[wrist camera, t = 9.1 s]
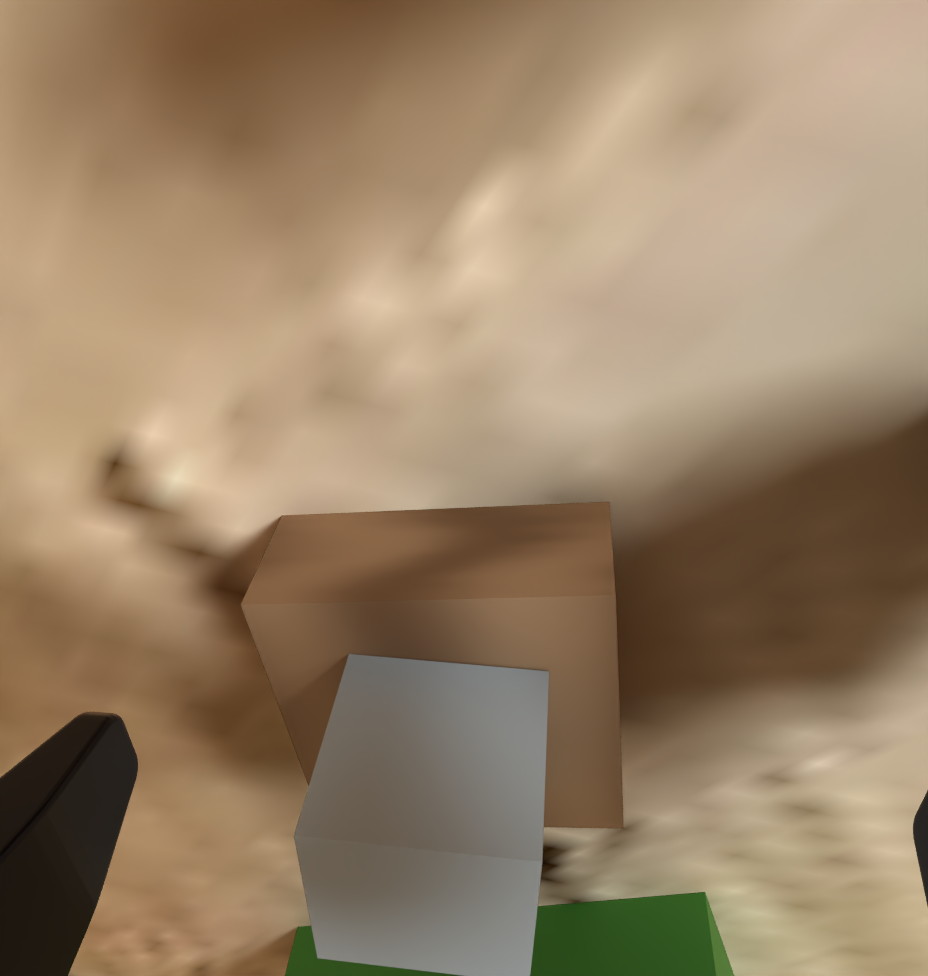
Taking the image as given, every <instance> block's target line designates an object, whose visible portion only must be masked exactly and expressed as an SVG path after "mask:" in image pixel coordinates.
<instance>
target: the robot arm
mask: <svg viewBox="0 0 928 976" xmlns="http://www.w3.org/2000/svg"><path fill="white" fill-rule="evenodd" d="M137 771H138V760H137V755H136V753H135V750H134V748H133V745H132V742H131V740H130V737H129V735H128V732H127V730H126V727H125V724H124V722H123V720H122V718H121V717H120V716H118V715H117V714H113V713H101V712H85V713H82V714H80V715H78V716H77V717H75V718H74V719H73V720H71V721H70V722H69V723H68V724H66V725H65V726H64V727H63V728H62V729H60V730H59V731H58V732H57V733H55V734H54V735H53V736H52V737H50V738H49V739H48V740H47V741H45V742H44V743H43V744H42V745H40V746H39V747H38V748H37V749H35V750H34V751H33V752H32V753H30V754H29V755H28V756H27V757H25V758H24V759H23V760H22V761H20V762H19V763H18V764H17V765H16V766H14V767H13V768H12V769H11V770H9V771H8V772H7V773H6V774H4V775H3V776H2V777H1V778H0V976H68V974H69V971H70V969H71V966H72V964H73V962H74V959H75V957H76V955H77V952H78V950H79V947H80V945H81V943H82V940H83V938H84V936H85V933H86V931H87V929H88V926H89V923H90V921H91V918H92V916H93V913H94V911H95V908H96V906H97V903H98V900H99V897H100V894H101V891H102V888H103V885H104V881H105V878H106V875H107V872H108V868H109V865H110V862H111V859H112V855H113V852H114V849H115V846H116V842H117V839H118V836H119V833H120V829H121V826H122V823H123V820H124V816H125V813H126V810H127V807H128V803H129V800H130V797H131V793H132V790H133V787H134V784H135V780H136V777H137ZM913 836H914V842H915V847H916V852H917V857H918V862H919V867H920V872H921V877H922V881H923V886H924V891H925V896H926V901H927V906H928V791H927V793H926V795H925V797H924V799H923V801H922V803H921V805H920V807H919V809H918V811H917V813H916V815H915V818H914V823H913Z"/></svg>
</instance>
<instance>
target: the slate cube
mask: <svg viewBox="0 0 928 976" xmlns="http://www.w3.org/2000/svg"><path fill="white" fill-rule="evenodd" d="M548 687H549V671H539V670H528V669H516V668H505V667H493V666H482V665H470V664H459V663H447V662H435V661H424V660H412V659H401V658H389V657H378V656H366V655H355V654H349V656H348V659H347V662H346V665H345V669H344V672H343V675H342V679H341V682H340V685H339V689H338V692H337V695H336V698H335V702H334V705H333V708H332V712H331V715H330V718H329V721H328V725H327V728H326V731H325V735H324V738H323V741H322V745H321V748H320V751H319V754H318V758H317V761H316V764H315V768H314V771H313V774H312V778H311V781H310V784H309V787H308V791H307V794H306V797H305V801H304V804H303V807H302V810H301V814H300V817H299V820H298V824H297V827H296V830H295V834H294V839H295V844H296V849H297V854H298V860H299V865H300V870H301V875H302V880H303V886H304V891H305V896H306V901H307V906H308V912H309V917H310V922H311V927H312V932H313V938H314V943H315V948H316V953H317V958H320V959H328V960H337V961H345V962H354V963H362V964H370V965H379V966H387V967H396V968H404V969H412V970H421V971H429V972H437V973H446V974H454V975H463V976H530V973H531V963H532V954H533V945H534V935H535V926H536V916H537V907H538V898H539V888H540V879H541V870H542V857H543V828H544V800H545V772H546V744H547V715H548Z"/></svg>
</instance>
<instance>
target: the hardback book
mask: <svg viewBox="0 0 928 976" xmlns="http://www.w3.org/2000/svg"><path fill="white" fill-rule="evenodd" d="M285 976H463V975H454V974H446V973H437V972H429V971H421V970H412V969H404V968H396V967H387V966H379V965H370V964H362V963H354V962H345V961H337V960H328V959H320V958H317V953H316V948H315V943H314V938H313V932H312V927H311V926H304V927H298V928H297V932H296V935H295V939H294V943H293V947H292V951H291V954H290V958H289V962H288V966H287V969H286V973H285ZM530 976H734V974H733V971H732V968H731V965H730V962H729V960H728V957H727V954H726V951H725V948H724V945H723V942H722V940H721V937H720V934H719V931H718V928H717V925H716V922H715V920H714V917H713V914H712V911H711V908H710V905H709V902H708V900H707V897H706V894H705V892H701V893H689V894H677V895H666V896H654V897H642V898H631V899H619V900H607V901H596V902H584V903H572V904H560V905H549V906H538V907H537V916H536V926H535V935H534V945H533V954H532V963H531V973H530Z"/></svg>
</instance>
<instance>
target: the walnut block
mask: <svg viewBox="0 0 928 976" xmlns="http://www.w3.org/2000/svg"><path fill="white" fill-rule="evenodd" d="M241 607H242V610H243V613H244V615H245V618H246V621H247V623H248V626H249V629H250V631H251V634H252V637H253V639H254V642H255V645H256V647H257V650H258V652H259V655H260V658H261V660H262V663H263V666H264V668H265V671H266V674H267V676H268V679H269V682H270V684H271V687H272V690H273V692H274V695H275V698H276V700H277V703H278V706H279V708H280V711H281V714H282V716H283V719H284V722H285V724H286V727H287V729H288V732H289V735H290V737H291V740H292V743H293V745H294V748H295V751H296V753H297V756H298V759H299V761H300V764H301V767H302V769H303V772H304V775H305V777H306V780H307V783H308V785H309V784H310V781H311V778H312V774H313V771H314V768H315V764H316V761H317V758H318V754H319V751H320V748H321V745H322V741H323V738H324V735H325V731H326V728H327V725H328V721H329V718H330V715H331V712H332V708H333V705H334V702H335V698H336V695H337V692H338V689H339V685H340V682H341V679H342V675H343V672H344V669H345V665H346V662H347V659H348V656H349V654H355V655H366V656H378V657H389V658H401V659H412V660H424V661H435V662H447V663H459V664H470V665H482V666H493V667H505V668H516V669H528V670H539V671H549V687H548V715H547V744H546V772H545V800H544V827H568V828H624V825H623V796H622V766H621V736H620V706H619V677H618V647H617V617H616V591H615V577H614V563H613V548H612V534H611V519H610V505H609V502H592V503H569V504H545V505H521V506H498V507H474V508H451V509H427V510H404V511H380V512H357V513H333V514H309V515H286V516H282V517H281V519H280V521H279V523H278V525H277V527H276V530H275V532H274V534H273V536H272V538H271V540H270V543H269V545H268V547H267V549H266V551H265V553H264V556H263V558H262V560H261V562H260V564H259V566H258V568H257V571H256V573H255V575H254V577H253V579H252V581H251V584H250V586H249V588H248V590H247V592H246V594H245V596H244V599H243V601H242V603H241Z"/></svg>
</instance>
